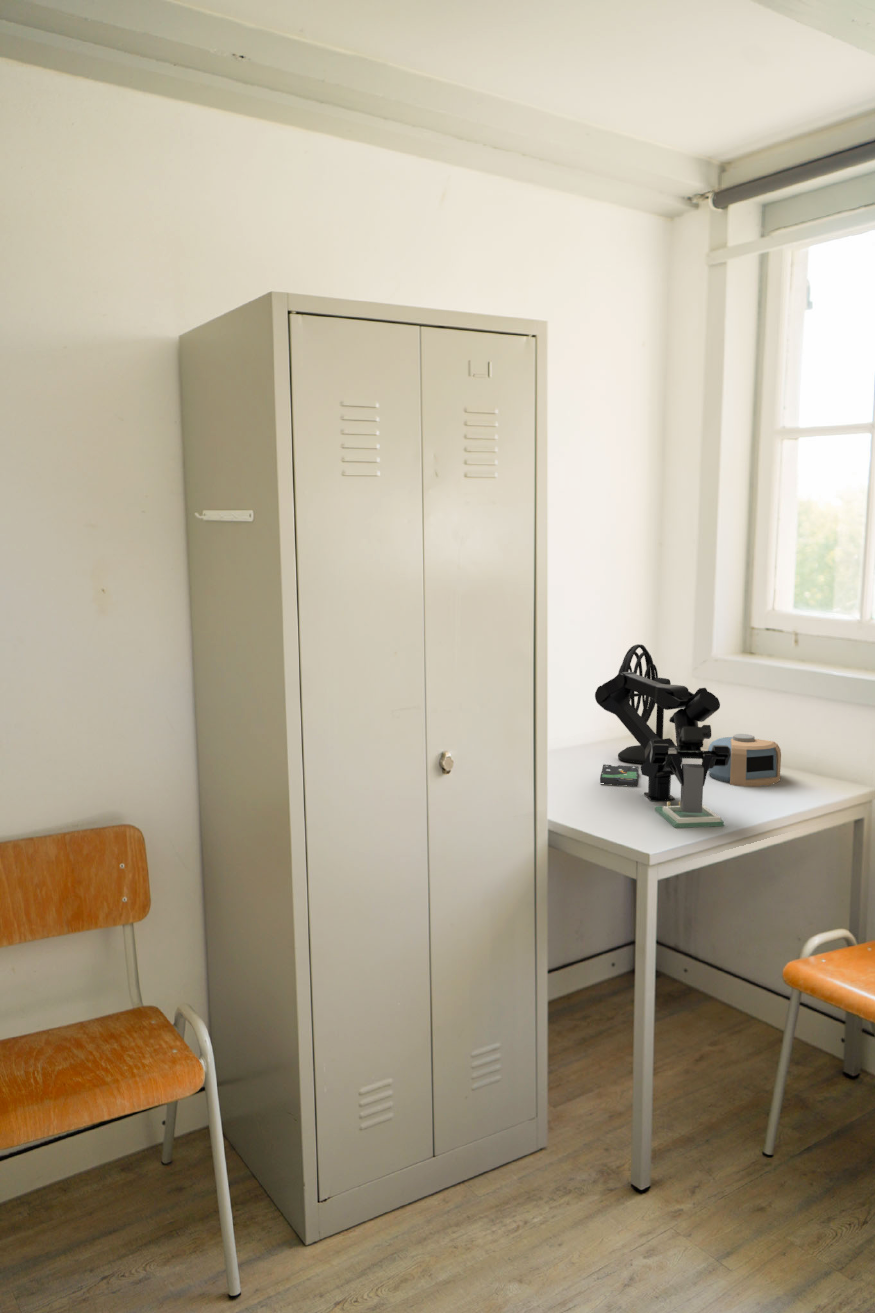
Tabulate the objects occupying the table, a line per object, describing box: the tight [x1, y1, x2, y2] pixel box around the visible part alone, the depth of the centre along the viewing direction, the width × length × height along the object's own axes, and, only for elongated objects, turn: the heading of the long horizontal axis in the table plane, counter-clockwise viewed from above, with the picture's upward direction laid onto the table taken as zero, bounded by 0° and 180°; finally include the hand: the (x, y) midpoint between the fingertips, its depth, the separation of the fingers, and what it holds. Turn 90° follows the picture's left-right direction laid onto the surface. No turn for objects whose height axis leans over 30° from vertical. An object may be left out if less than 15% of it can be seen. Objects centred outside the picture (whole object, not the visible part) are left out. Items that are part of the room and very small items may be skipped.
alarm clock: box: [707, 733, 782, 787], centre depth 271 cm, size 19×20×12 cm
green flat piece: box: [654, 800, 725, 829], centre depth 233 cm, size 14×12×2 cm
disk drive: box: [599, 763, 639, 787], centre depth 270 cm, size 10×3×15 cm
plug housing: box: [679, 763, 704, 813], centre depth 231 cm, size 4×4×11 cm
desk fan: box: [617, 644, 672, 764], centre depth 293 cm, size 27×18×35 cm, turn 152°
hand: (693, 785), depth 229 cm, fingers closed on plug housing, 4 cm apart
